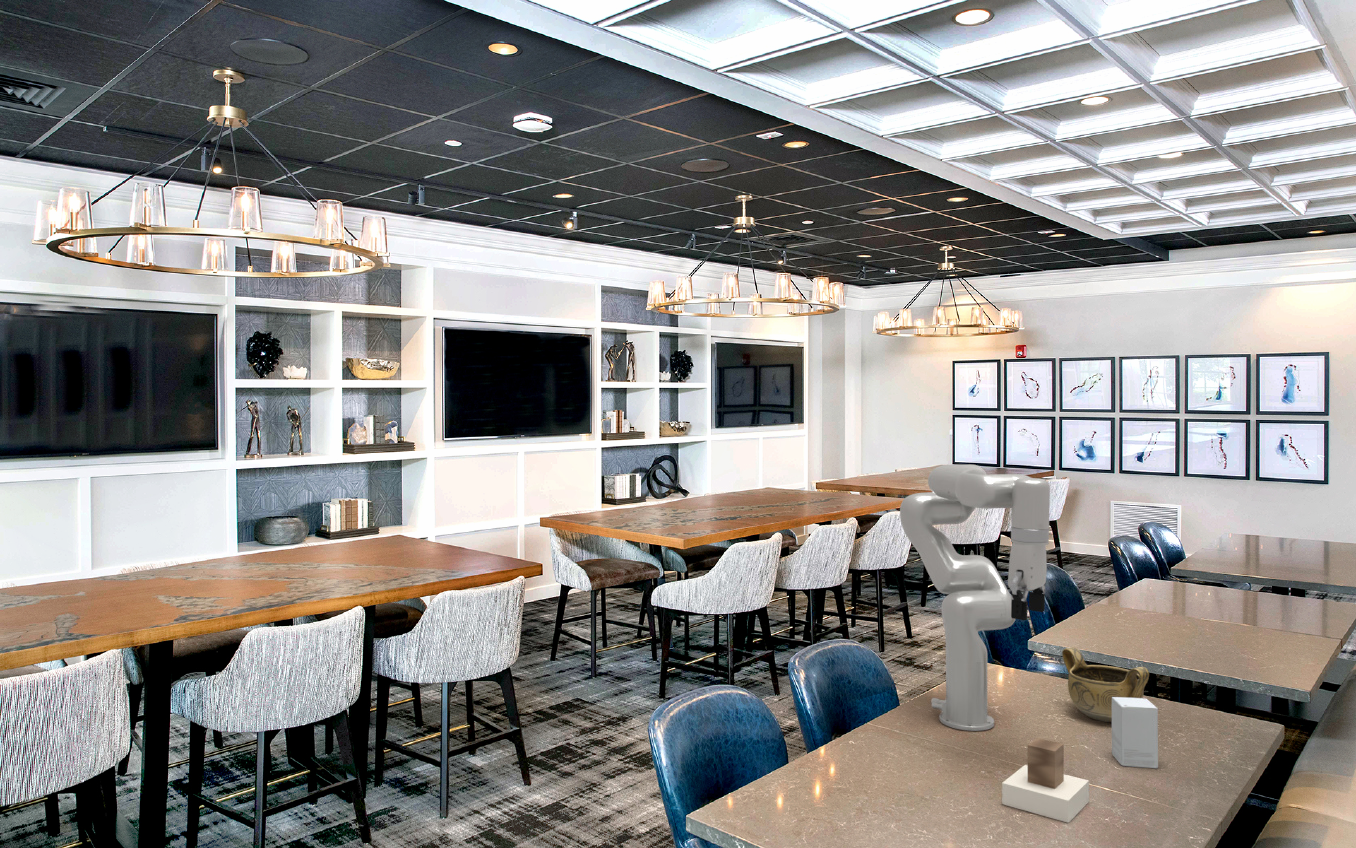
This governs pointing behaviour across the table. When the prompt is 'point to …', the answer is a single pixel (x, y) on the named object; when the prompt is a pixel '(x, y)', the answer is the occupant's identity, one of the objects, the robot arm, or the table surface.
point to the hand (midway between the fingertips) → (1028, 615)
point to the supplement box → (1135, 732)
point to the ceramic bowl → (1100, 684)
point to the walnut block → (1045, 763)
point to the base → (1046, 796)
